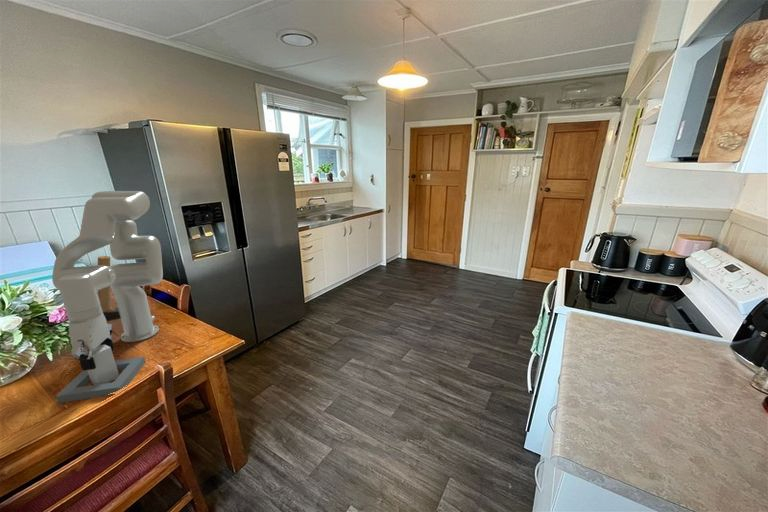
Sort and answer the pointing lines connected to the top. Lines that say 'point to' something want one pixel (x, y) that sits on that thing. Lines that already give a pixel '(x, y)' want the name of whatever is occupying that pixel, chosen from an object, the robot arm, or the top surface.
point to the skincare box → (103, 366)
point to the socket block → (81, 391)
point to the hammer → (106, 294)
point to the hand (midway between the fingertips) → (99, 359)
